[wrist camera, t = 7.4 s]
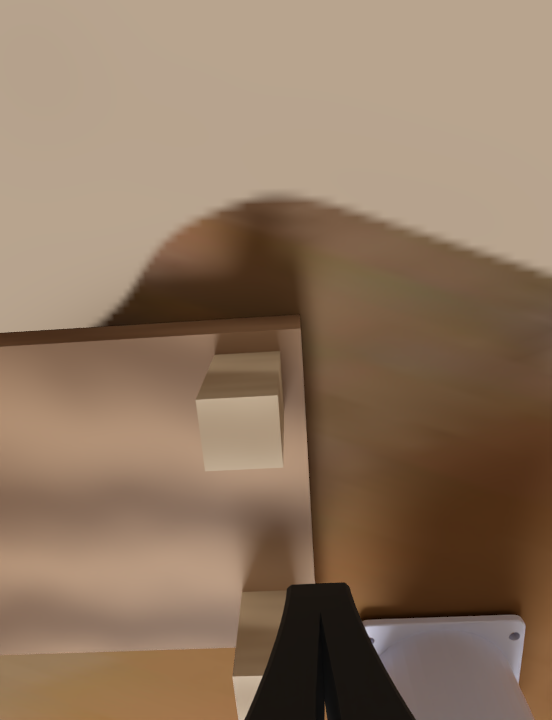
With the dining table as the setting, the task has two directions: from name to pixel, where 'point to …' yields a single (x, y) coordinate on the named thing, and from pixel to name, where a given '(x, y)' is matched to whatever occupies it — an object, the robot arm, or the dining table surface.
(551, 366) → the dining table surface
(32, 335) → the stool seat
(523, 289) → the dining table surface
